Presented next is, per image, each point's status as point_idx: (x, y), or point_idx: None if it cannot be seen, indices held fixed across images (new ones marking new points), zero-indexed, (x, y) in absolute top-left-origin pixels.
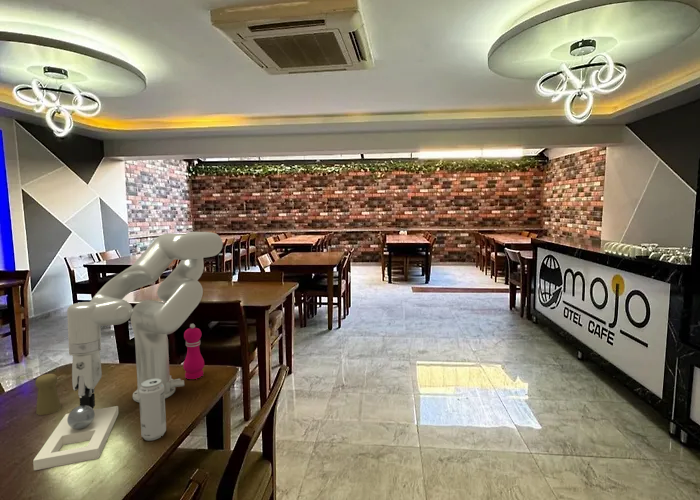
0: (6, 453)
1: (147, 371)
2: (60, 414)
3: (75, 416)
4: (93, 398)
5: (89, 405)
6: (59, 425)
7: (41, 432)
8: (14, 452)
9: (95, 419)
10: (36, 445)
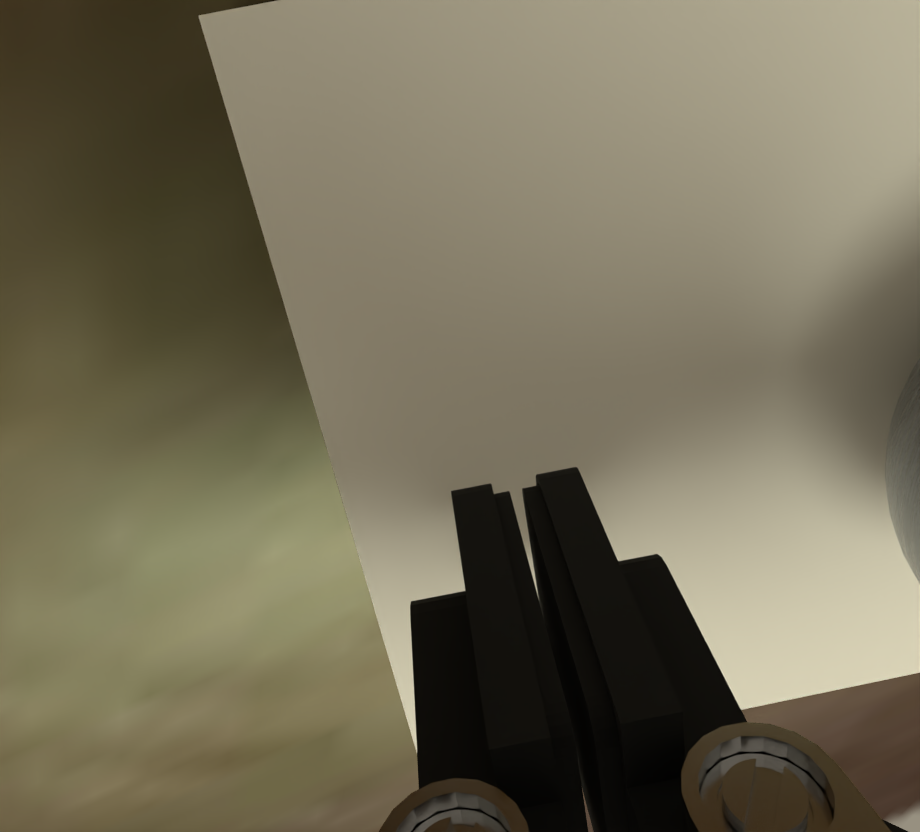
0: (893, 816)
1: None
2: (207, 815)
3: None
4: (595, 630)
5: (645, 571)
6: (764, 690)
7: None
8: (907, 776)
9: (775, 271)
10: (863, 687)
